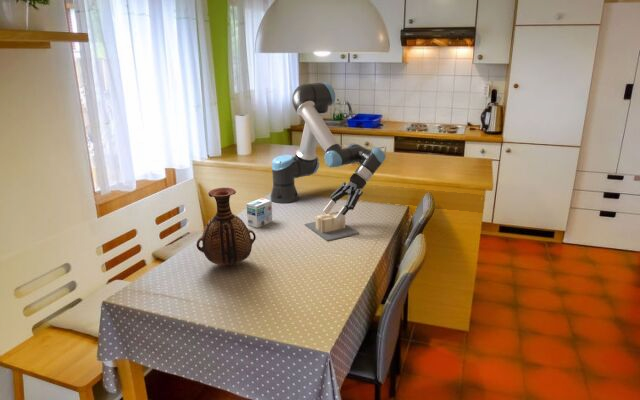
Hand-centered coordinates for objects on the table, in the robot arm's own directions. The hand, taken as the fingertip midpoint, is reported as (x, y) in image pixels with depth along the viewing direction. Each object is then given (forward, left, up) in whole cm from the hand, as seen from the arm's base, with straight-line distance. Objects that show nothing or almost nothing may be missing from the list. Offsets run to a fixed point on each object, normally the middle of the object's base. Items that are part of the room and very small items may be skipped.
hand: (330, 216), depth 211 cm
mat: (0, 0, -7) cm, 6 cm away
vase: (+12, -52, -7) cm, 54 cm away
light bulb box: (-24, -25, -7) cm, 35 cm away
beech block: (0, +6, -3) cm, 6 cm away
